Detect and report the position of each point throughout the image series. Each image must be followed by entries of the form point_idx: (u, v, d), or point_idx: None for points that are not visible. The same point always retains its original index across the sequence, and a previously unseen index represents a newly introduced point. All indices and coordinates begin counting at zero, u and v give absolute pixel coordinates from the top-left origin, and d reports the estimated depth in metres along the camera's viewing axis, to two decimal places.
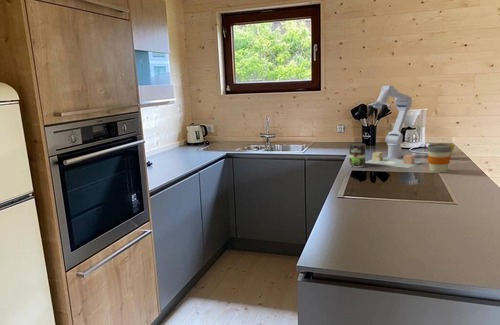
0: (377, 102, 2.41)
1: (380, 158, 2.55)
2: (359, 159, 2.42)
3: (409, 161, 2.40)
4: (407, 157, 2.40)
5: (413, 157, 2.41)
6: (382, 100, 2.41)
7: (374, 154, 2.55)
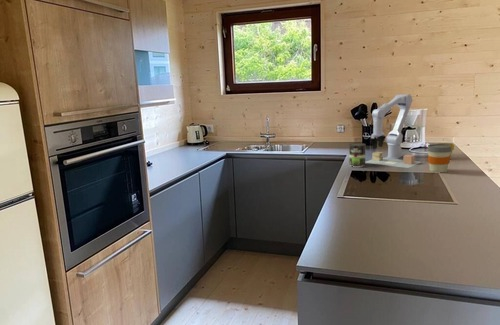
0: None
1: (380, 158, 2.55)
2: (358, 159, 2.42)
3: (409, 161, 2.40)
4: (407, 157, 2.40)
5: (413, 157, 2.41)
6: (373, 131, 2.53)
7: (374, 154, 2.55)
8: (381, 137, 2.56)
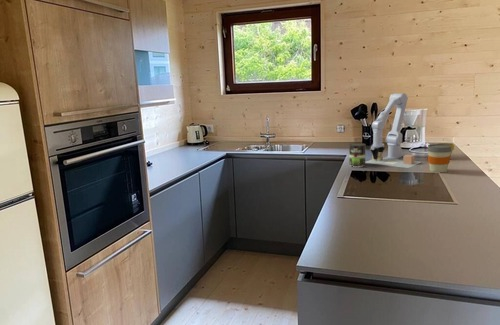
0: None
1: (380, 158, 2.55)
2: (358, 159, 2.42)
3: (409, 161, 2.40)
4: (407, 157, 2.40)
5: (413, 157, 2.41)
6: (373, 142, 2.55)
7: None
8: (380, 148, 2.57)
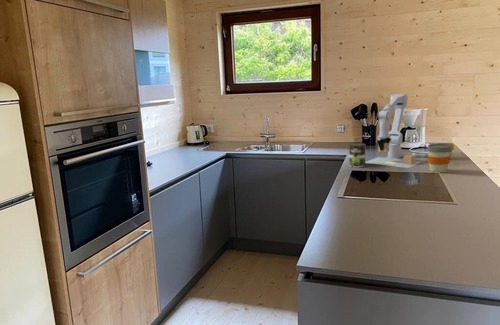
0: None
1: (386, 149, 2.49)
2: (358, 159, 2.42)
3: (409, 161, 2.40)
4: (407, 157, 2.40)
5: (413, 157, 2.41)
6: None
7: None
8: (386, 139, 2.51)
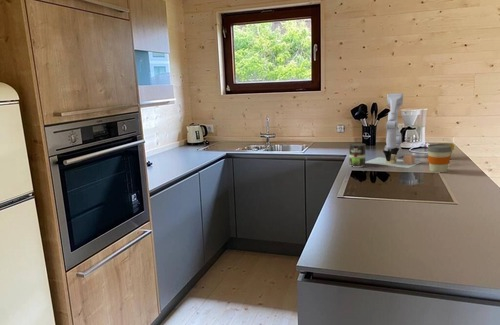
0: None
1: (394, 161, 2.45)
2: (358, 159, 2.42)
3: (409, 161, 2.40)
4: (407, 157, 2.40)
5: (413, 157, 2.41)
6: (386, 143, 2.45)
7: None
8: (394, 149, 2.48)
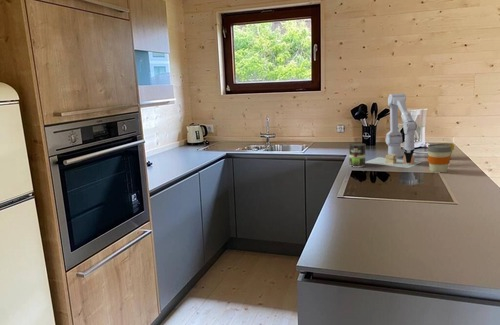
0: None
1: (394, 161, 2.45)
2: (358, 159, 2.42)
3: None
4: None
5: (413, 157, 2.41)
6: (405, 144, 2.40)
7: (387, 156, 2.46)
8: (410, 151, 2.44)
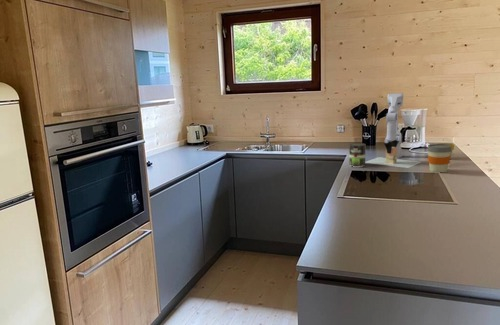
0: None
1: (394, 161, 2.45)
2: (358, 159, 2.42)
3: (391, 153, 2.43)
4: None
5: (395, 149, 2.44)
6: (387, 135, 2.44)
7: (387, 156, 2.46)
8: (394, 142, 2.46)
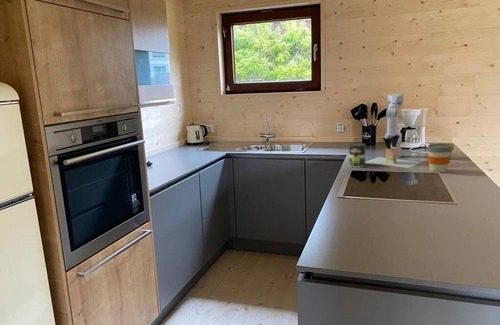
0: None
1: (394, 161, 2.45)
2: (358, 159, 2.42)
3: (391, 153, 2.43)
4: (389, 149, 2.44)
5: (395, 149, 2.44)
6: (387, 130, 2.43)
7: (387, 156, 2.46)
8: (395, 137, 2.46)
